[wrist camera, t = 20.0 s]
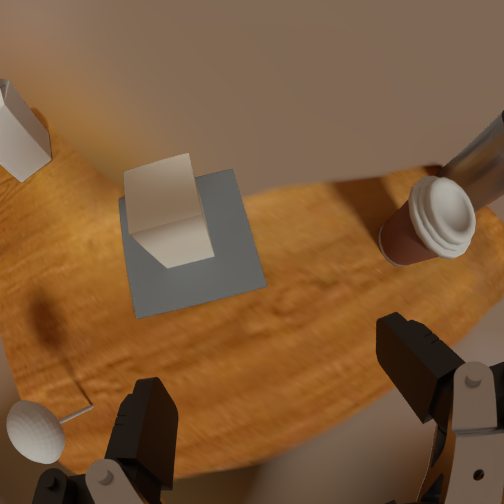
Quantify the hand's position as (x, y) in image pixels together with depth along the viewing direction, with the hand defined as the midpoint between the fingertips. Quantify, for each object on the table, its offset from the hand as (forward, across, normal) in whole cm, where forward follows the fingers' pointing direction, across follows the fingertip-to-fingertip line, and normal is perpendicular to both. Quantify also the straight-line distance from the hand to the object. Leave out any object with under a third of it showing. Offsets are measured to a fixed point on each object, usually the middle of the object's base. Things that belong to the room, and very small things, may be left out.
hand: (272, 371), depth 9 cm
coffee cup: (+23, -20, +7) cm, 31 cm away
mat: (+24, +6, 0) cm, 25 cm away
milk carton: (+34, +30, -19) cm, 49 cm away
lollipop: (+14, +23, +14) cm, 30 cm away
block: (+24, +6, 0) cm, 24 cm away
